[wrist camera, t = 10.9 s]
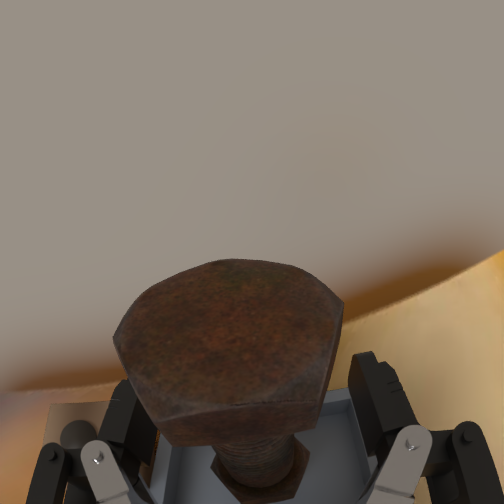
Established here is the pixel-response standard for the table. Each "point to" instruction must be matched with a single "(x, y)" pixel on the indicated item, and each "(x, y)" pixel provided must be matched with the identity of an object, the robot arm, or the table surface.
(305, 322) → the bolt
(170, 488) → the tray
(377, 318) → the table surface
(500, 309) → the table surface
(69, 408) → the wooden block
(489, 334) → the table surface
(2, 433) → the table surface
